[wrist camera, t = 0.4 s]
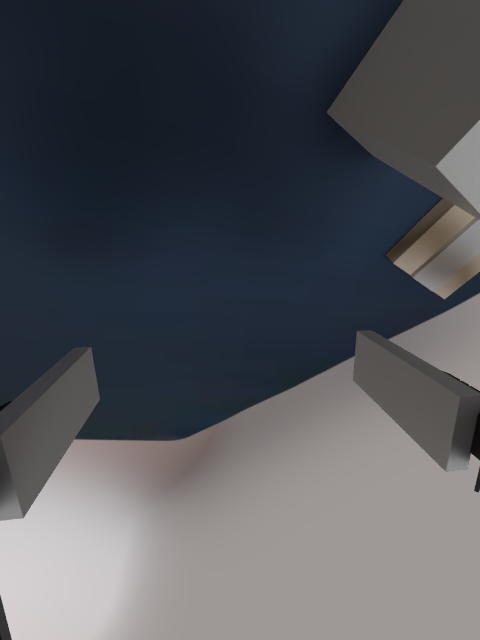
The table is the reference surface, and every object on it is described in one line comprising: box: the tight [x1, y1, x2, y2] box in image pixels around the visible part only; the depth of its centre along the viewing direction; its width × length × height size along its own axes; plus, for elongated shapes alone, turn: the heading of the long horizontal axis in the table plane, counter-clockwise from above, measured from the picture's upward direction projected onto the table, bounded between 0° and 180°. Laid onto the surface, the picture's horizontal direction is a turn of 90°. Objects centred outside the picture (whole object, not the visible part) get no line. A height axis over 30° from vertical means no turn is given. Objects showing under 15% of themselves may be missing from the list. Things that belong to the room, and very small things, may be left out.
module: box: [326, 0, 480, 220], centre depth 15 cm, size 8×5×13 cm, turn 146°
